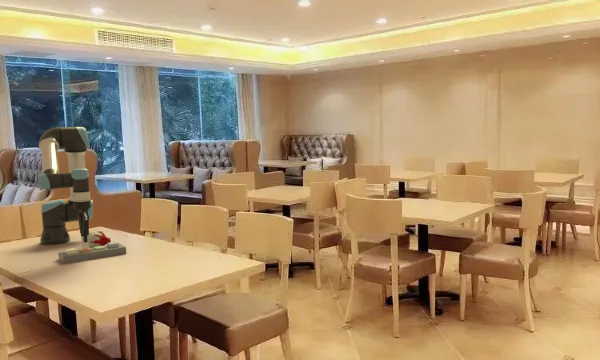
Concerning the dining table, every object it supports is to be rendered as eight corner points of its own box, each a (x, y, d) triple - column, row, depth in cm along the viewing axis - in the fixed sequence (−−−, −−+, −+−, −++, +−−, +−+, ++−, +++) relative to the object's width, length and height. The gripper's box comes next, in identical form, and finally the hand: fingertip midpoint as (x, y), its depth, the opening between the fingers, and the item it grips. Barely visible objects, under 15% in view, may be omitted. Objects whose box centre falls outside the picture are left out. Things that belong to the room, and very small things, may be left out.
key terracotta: (80, 254, 248) (79, 249, 248) (89, 252, 251) (89, 247, 250) (82, 255, 244) (81, 250, 244) (91, 254, 247) (91, 249, 247)
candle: (89, 244, 275) (116, 247, 274) (78, 248, 264) (106, 252, 263) (90, 227, 274) (116, 231, 273) (79, 231, 263) (107, 235, 262)
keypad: (58, 259, 246) (58, 252, 245) (119, 249, 262) (119, 243, 262) (63, 263, 237) (63, 256, 236) (126, 253, 253) (126, 247, 253)
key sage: (94, 252, 252) (93, 247, 252) (103, 250, 254) (102, 245, 254) (96, 253, 248) (96, 248, 248) (105, 252, 251) (105, 247, 251)
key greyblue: (107, 248, 255) (107, 243, 255) (116, 246, 258) (116, 241, 258) (109, 249, 252) (109, 244, 252) (118, 248, 254) (118, 243, 254)
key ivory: (65, 254, 244) (65, 249, 244) (75, 253, 247) (75, 247, 246) (67, 256, 241) (67, 250, 240) (77, 254, 243) (77, 249, 243)
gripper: (70, 200, 248) (74, 247, 250) (76, 202, 237) (80, 252, 240) (87, 198, 252) (90, 245, 255) (93, 201, 242) (97, 249, 244)
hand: (85, 248), depth 247 cm, fingers closed
